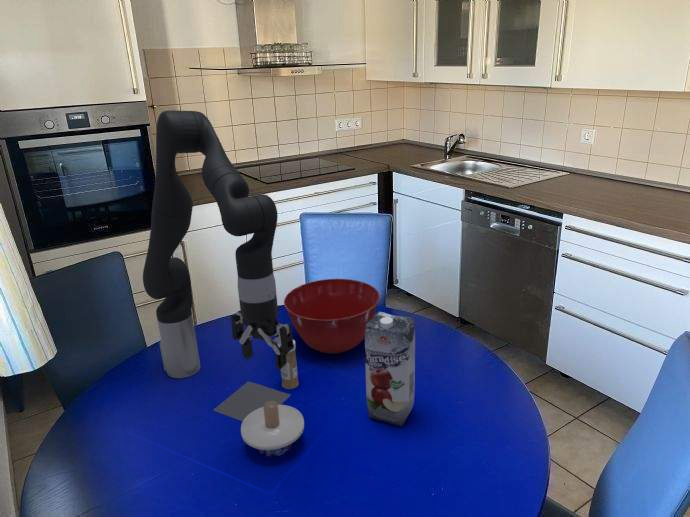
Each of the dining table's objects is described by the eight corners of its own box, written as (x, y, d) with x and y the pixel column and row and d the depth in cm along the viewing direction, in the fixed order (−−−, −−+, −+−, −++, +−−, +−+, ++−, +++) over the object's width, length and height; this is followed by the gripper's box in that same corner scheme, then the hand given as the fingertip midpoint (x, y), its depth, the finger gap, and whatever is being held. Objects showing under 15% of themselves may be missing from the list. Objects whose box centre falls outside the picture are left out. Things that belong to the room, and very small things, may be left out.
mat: (213, 412, 133) (212, 410, 133) (248, 383, 145) (248, 381, 145) (257, 428, 127) (257, 426, 127) (291, 396, 138) (290, 394, 138)
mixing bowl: (268, 350, 160) (263, 304, 155) (325, 312, 182) (322, 271, 176) (345, 378, 145) (343, 328, 139) (397, 334, 167) (397, 289, 161)
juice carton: (377, 398, 136) (376, 303, 126) (417, 409, 132) (418, 311, 122) (363, 419, 129) (360, 320, 119) (404, 431, 124) (404, 328, 114)
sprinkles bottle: (301, 386, 142) (298, 342, 137) (286, 392, 140) (282, 348, 135) (293, 378, 146) (290, 335, 141) (278, 384, 144) (274, 341, 139)
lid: (228, 437, 117) (224, 414, 115) (266, 402, 128) (264, 380, 126) (280, 457, 111) (277, 433, 108) (315, 419, 122) (314, 396, 120)
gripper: (218, 294, 108) (227, 363, 114) (275, 307, 101) (281, 380, 107) (242, 280, 114) (249, 346, 120) (297, 292, 107) (302, 361, 113)
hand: (264, 362), depth 113 cm, fingers open, 8 cm apart
